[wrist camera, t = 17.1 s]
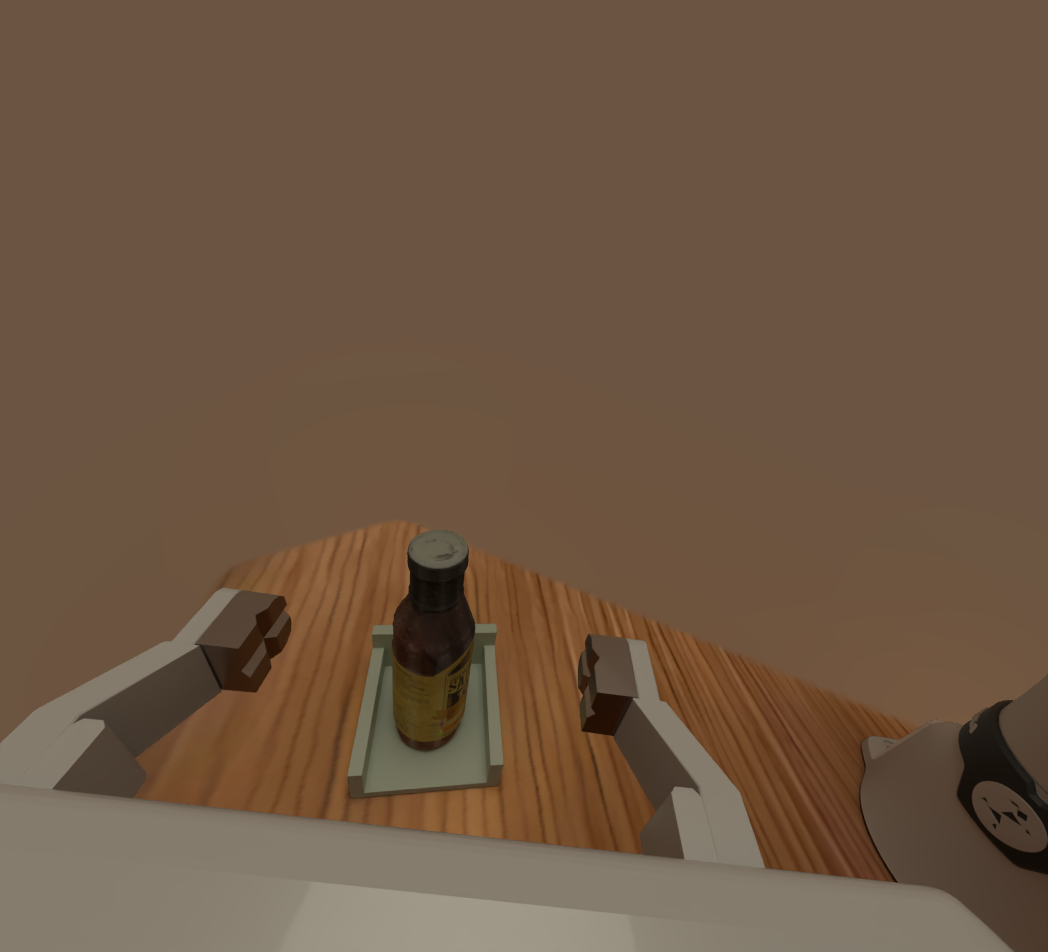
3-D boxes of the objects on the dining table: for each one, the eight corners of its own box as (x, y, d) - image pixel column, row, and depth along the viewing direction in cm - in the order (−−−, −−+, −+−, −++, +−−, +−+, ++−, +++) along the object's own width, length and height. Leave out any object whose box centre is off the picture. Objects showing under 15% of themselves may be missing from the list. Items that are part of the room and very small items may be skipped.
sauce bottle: (457, 758, 35) (479, 596, 24) (383, 749, 34) (372, 583, 24) (469, 683, 40) (490, 526, 30) (405, 676, 40) (404, 515, 29)
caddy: (489, 659, 44) (495, 623, 40) (497, 785, 34) (506, 752, 31) (376, 662, 41) (374, 625, 38) (351, 798, 32) (345, 763, 29)
